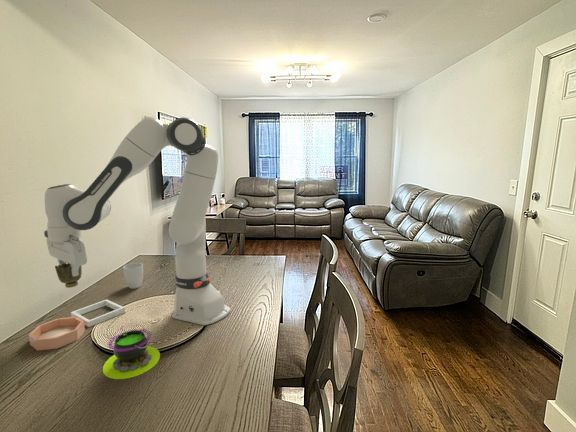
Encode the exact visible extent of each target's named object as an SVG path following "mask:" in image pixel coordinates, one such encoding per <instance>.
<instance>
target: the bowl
mask: <svg viewBox="0 0 576 432" xmlns="http://www.w3.org/2000/svg"><path fill="white" fill-rule="evenodd" d="M85 327H86V326H85V325H84V321H83V320H81V319H79V318H78V317H71V316H70V317H61V318H60V317H59V318H56V319H53V320H50V321H47V322H45V323H42V324H39V325H37V326H36V327H35V328H34V329H33V330H32V331H30V333H28V341H29V346H31V347H33V348H34V349H35V350H36V351H43V350H45V351H46V350H55V349H59V348H62V347H65V346H67V345H69V344H71V343H74V342H76V341H78V340H79V339H80V338H81V337H82V335H83V334H84V333H85V332H86V328H85Z"/></svg>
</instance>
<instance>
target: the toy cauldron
mask: <svg viewBox="0 0 576 432" xmlns="http://www.w3.org/2000/svg"><path fill="white" fill-rule="evenodd" d="M133 324H134V325H133ZM132 326H134V327H133V328H131V329H128V330H126V331H124V328H127V327H132ZM136 327H139V324H135V323H134V322H133V323H131V324H130V323H128V324H127V325H126V326H124V325H122V326H121V327H120V328H119V329H118V330H117V331H116V332H115V333H114V334H113V337H112V338H111V339H110V340H109V341H108V342H107V348H108V349H109V350H111V351H113V353H114V354H113V355H111V357H109V358H108V359H107V360H106V361H105V362H104V364H103V366H102V373H103V375H105V377H107V378H109V379H113V380H126V379H130V378H134V377H137V376H140V375H142V374H144V373H146V372H148V371H150V370H151V369H152V368H153V367H155V366H156V365H157V363H159V360H160V359H161V353H160V351H159V349H157V348H156V347H153V346H150V345H149V342H150V340H152V338H153V336H152V335H153V334H152V332H151V331H150V330H148V331H147V329H145V327H143V325H140V327H141V328H140V329H138V328H136ZM135 328H136V329H135ZM119 331H120V332H121V333H118V334H116V333H117V332H119ZM145 334H146V335H147V337H146V335H145ZM113 341H114V345H113Z"/></svg>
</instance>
